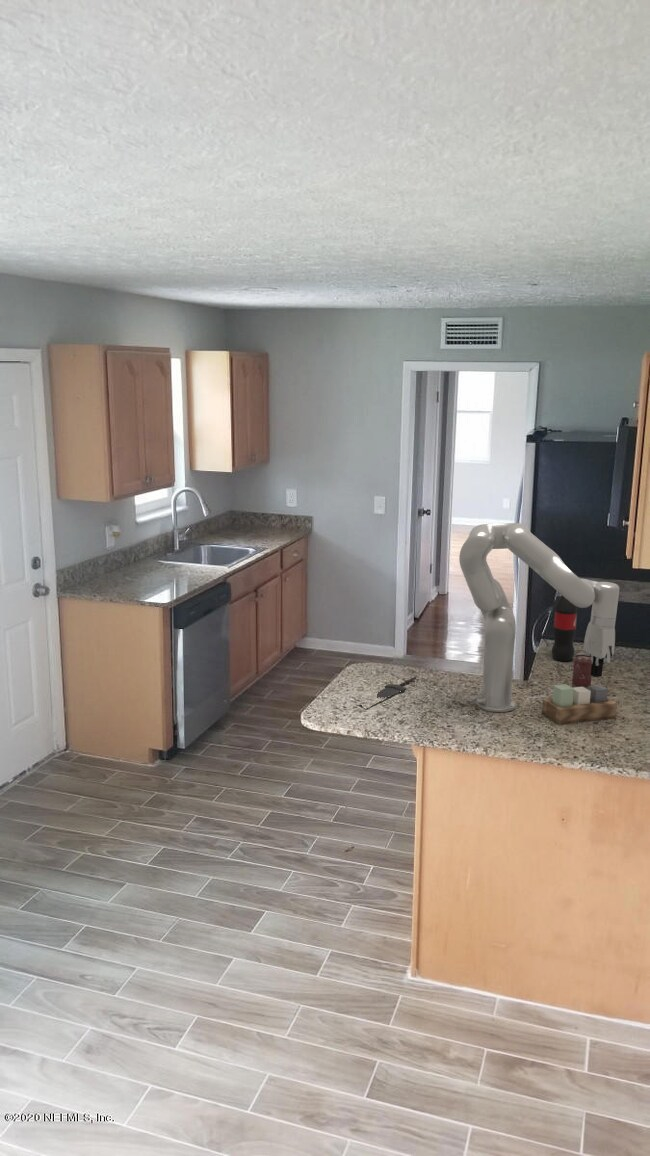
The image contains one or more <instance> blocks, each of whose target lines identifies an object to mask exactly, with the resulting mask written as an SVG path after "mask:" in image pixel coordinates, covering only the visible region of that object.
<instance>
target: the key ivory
mask: <svg viewBox="0 0 650 1156" xmlns="http://www.w3.org/2000/svg"><path fill="white" fill-rule="evenodd" d="M590 694H591V691H590V690H588V689H586V688H584V687H574V690H573V703H575V704H577V705H581V704H590Z"/></svg>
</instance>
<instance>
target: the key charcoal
mask: <svg viewBox="0 0 650 1156" xmlns="http://www.w3.org/2000/svg"><path fill="white" fill-rule="evenodd" d="M588 690H590V691H591V694H590V700H591V701H593V702H594V703H598V702H606V701H607V698H608V694H609V693H608V692H609V689H608V688H607V687H605V686H603V685H601V684H595V685H592V684H591V686H588Z"/></svg>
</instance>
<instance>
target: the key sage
mask: <svg viewBox="0 0 650 1156" xmlns="http://www.w3.org/2000/svg"><path fill="white" fill-rule="evenodd" d="M552 690H553V691H552V698H553V703H554V704H556V705H557V706H559V707H565V706H572V703H573V690H574V688H572V686H570V685H568V684H565V683H561V684H553V689H552Z"/></svg>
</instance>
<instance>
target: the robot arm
mask: <svg viewBox="0 0 650 1156" xmlns="http://www.w3.org/2000/svg"><path fill="white" fill-rule="evenodd" d="M503 549H508V551H510V552H511V553H512V554H513V555H515V557H517V558H519V559H520V560H521V561H522V562H523V563H524V564H526V565H527V566H528V567H529V568H531V569H532V570H533V571H534V572H535V573H536V574H538V575H539V576H540V578H542V579H543V580H544V581H545V582H546V583H548V584H549V585H550V586H551V587H552V588H554V590H555V591H556V592H558V593H559V594H560V595H561V596H564V597H565V598H566V599H567V600H569V601H570V602H571V603H572V604H574V605H575V606H577V608H580V609H583V608H586V609H587V608H589V607H590V606H592V607H591V613H590V621H589V622H588V625H587V627H586V631H585V635H584V640H583V651H584V652H585V653H586V655H587V656H590V657H591V663H592V666H591V674H590V675H591V676H592V677H593V678H600V677H602V675H603V669H604V668H603V667H604V666H605V664H610V663H611V659H612V658H613V656H614V652H615V646H616V644H615V643H616V628H615V627H616V621H617V612H618V603H619V597H620V586H619V585H618V584H617V583H614V582H611V581H610V582H609V581H597V580H596V581H595V580H591V579H586V578H580V577H579V576H578V575H576V573H574V572H573V571H572V570H571V569H570V568H569V567H568V566H567V565H566V564H565V562H564V561H563V560H562V558H561V557H560V555H558V553H556V552H555V551H554V550H553V549H552V548H550V547H549V546H548V545H546V544H545V543H544V542H543V541H542V540H540V539H539V538H538V537H537V536H536V535H535V534H533V533H532V532H531V531H530V529H529V527H527V525H525V524H523V523H521V522H508V523H504V522H503V523H485V524H482V523H481V524H479V525H476V526H474V527H473V528H472V529H471V530H470V531H469V534H468V537H467V538H466V540H465V541H464V543H463V544H462V546H461V549H460V551H459V556H458V557H459V558H458V559H459V561H458V562H459V566H460V569H461V572H462V575H463V577H464V579H465V582H466V584H467V586H468V589H469V591H470V594H471V597H472V599H473V603H474V604H475V606H476V607H477V608H478V609H479V610H480V613H481V615H482V617H483V619H484V620H485V628H484V647H483V649H484V651H483V670H482V671H483V673H482V687H481V688H482V690H481V691H479V692H478V694H477V695H469V696H467V697H468V699H467V700H468V702H471V703H474V702H475V703H476V705H477V706H478V707H479V708H480V709H482V710H484V711H488V712H495V713H505V712H510V711H511V712H512V711H513V710H515V708H516V706H517V705H516V702H515V701H514V700H513V699H512V693H513V691H512V689H513V671H514V660H515V659H514V655H515V643H516V634H517V632H516V631H517V630H516V627H517V625H516V618H515V617H516V616H515V614H514V611H513V610H512V607H511V604H510V602H509V601H508V598H507V596H506V593H505V591H504V588H503V587H502V585H501V583H500V582H499V581H498V580H496V579H495V578H494V576H493V573H492V570H491V568H490V566H489V564H488V561H487V557H488V555H489V554H490V552H491V551H492V550H503Z"/></svg>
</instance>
